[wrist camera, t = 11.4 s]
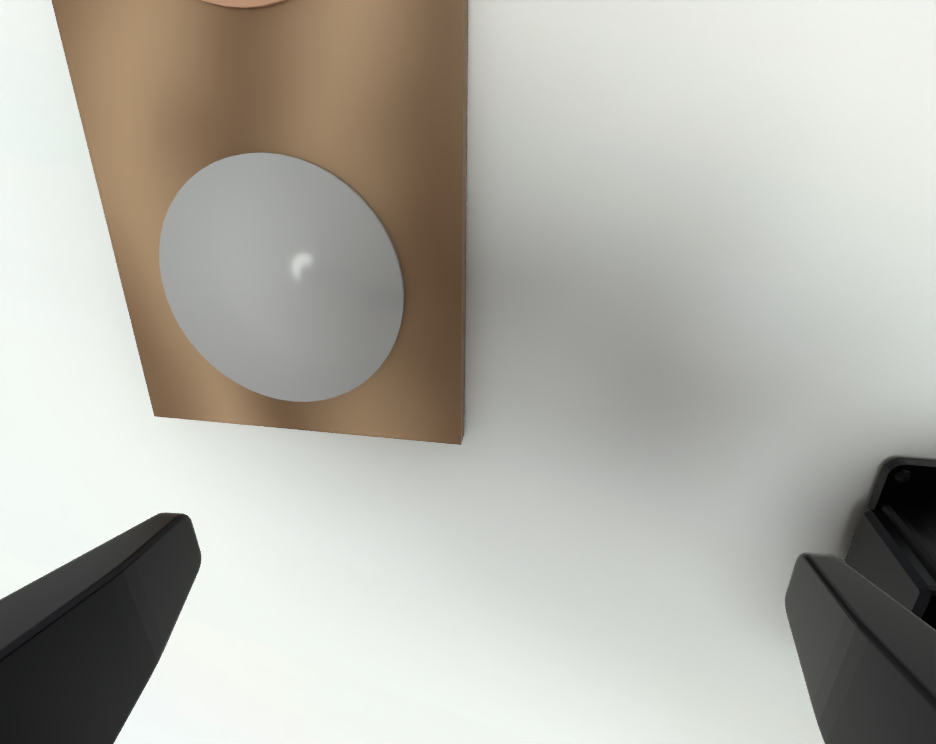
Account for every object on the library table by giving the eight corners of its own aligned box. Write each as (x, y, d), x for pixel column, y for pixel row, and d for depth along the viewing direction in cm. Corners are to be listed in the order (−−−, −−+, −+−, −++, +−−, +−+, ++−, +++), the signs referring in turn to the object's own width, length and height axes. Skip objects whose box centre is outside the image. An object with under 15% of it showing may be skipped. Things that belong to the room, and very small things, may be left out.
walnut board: (472, -550, 13) (467, -590, 12) (464, 434, 23) (460, 444, 22) (-42, -475, 14) (-74, -506, 14) (166, 407, 25) (154, 416, 24)
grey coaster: (400, 155, 18) (396, 156, 18) (409, 406, 22) (406, 411, 22) (141, 149, 20) (132, 149, 19) (191, 387, 23) (186, 392, 23)
